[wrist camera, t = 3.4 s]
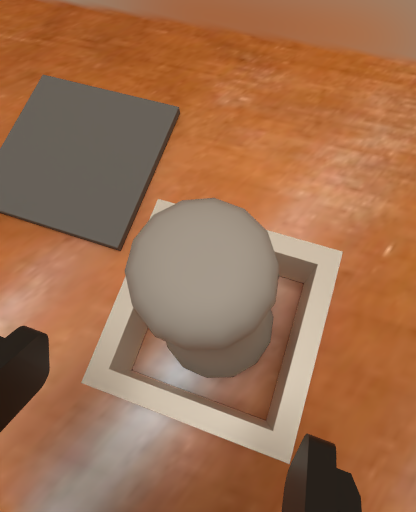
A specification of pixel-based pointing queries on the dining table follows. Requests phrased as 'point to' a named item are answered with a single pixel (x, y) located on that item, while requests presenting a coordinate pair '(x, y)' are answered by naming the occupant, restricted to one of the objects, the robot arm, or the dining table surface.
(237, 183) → the dining table surface
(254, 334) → the salt shaker
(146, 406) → the collar
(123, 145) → the mat
